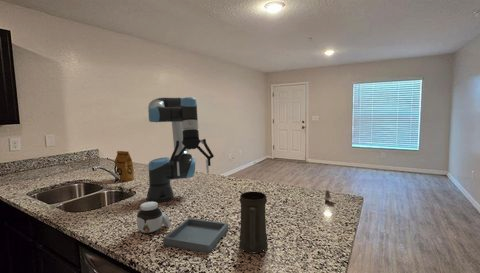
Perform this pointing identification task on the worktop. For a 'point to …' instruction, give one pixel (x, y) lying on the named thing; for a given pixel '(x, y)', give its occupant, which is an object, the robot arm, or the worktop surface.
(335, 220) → the worktop surface
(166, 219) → the spread jar
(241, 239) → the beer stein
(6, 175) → the worktop surface
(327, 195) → the architectural model
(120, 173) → the coffee package
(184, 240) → the tray
